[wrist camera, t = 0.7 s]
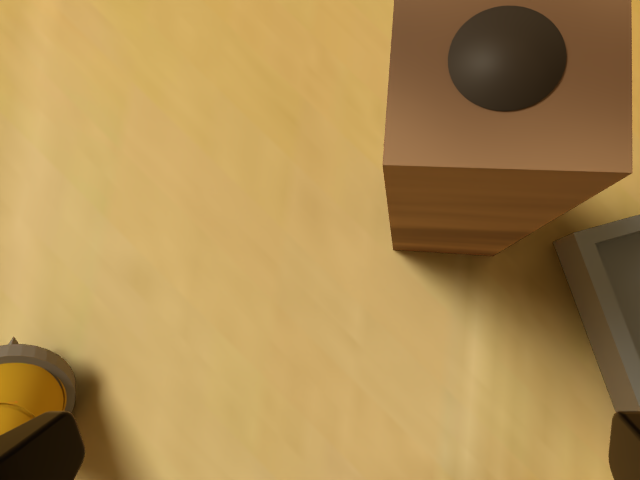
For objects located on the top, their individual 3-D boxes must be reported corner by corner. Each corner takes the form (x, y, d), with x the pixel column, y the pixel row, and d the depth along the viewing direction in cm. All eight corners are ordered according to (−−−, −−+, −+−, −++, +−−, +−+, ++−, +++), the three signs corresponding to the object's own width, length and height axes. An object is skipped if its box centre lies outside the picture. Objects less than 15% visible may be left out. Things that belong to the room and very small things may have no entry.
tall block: (492, 255, 21) (634, 172, 8) (393, 249, 22) (382, 164, 9) (496, 160, 22) (631, -53, 9) (399, 158, 22) (397, -41, 10)
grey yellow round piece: (76, 310, 25) (72, 446, 16) (76, 393, 26) (72, 554, 18) (-49, 317, 22) (-129, 481, 14) (-40, 408, 24) (-107, 602, 16)
